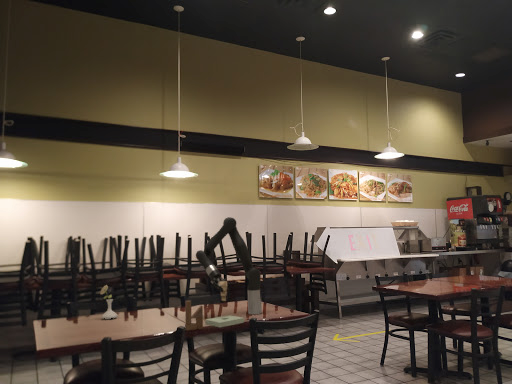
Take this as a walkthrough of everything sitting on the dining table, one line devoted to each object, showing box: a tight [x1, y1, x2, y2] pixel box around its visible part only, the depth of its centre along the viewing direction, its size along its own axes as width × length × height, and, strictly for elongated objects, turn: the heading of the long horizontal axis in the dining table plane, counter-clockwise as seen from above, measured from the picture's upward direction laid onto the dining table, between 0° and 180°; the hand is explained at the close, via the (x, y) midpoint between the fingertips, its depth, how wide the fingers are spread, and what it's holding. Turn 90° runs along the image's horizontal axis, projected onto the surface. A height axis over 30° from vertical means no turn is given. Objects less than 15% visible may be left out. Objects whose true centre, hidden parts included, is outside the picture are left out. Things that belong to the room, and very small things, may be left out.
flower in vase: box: [99, 284, 119, 320], centre depth 313 cm, size 13×11×25 cm
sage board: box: [205, 314, 245, 328], centre depth 281 cm, size 20×16×3 cm
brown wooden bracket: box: [184, 299, 204, 332], centre depth 267 cm, size 4×11×18 cm, turn 113°
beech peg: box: [220, 280, 228, 302], centre depth 293 cm, size 5×5×13 cm
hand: (225, 290), depth 292 cm, fingers closed on beech peg, 5 cm apart
